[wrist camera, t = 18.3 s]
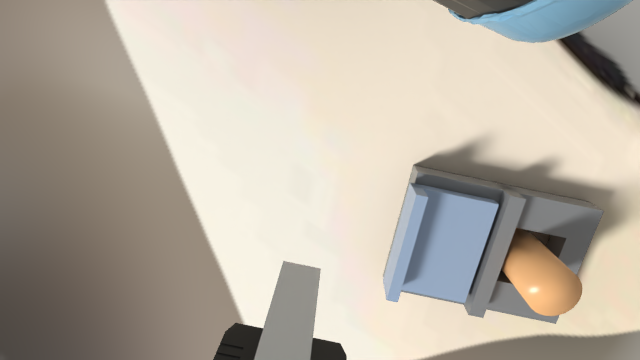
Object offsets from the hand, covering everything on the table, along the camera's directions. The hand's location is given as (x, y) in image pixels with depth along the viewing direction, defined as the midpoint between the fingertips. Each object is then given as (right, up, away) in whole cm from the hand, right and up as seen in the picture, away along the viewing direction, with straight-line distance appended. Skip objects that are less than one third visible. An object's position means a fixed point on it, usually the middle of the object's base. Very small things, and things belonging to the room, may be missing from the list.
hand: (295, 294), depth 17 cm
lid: (+12, -1, +22) cm, 25 cm away
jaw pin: (+20, -2, +25) cm, 32 cm away
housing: (+17, -1, +25) cm, 30 cm away
